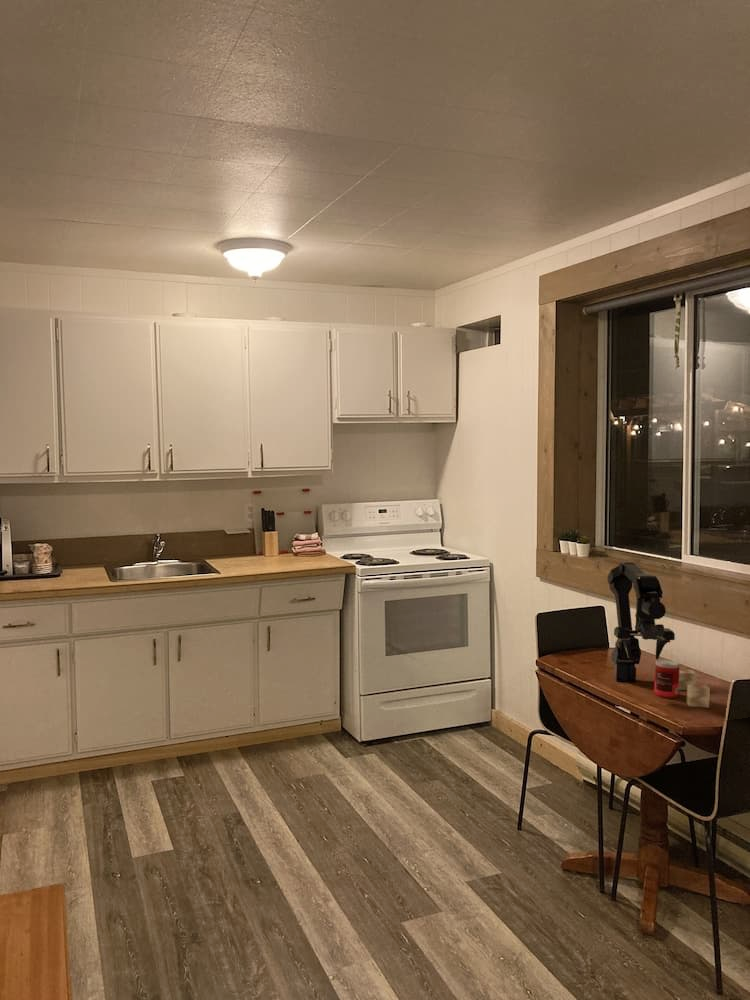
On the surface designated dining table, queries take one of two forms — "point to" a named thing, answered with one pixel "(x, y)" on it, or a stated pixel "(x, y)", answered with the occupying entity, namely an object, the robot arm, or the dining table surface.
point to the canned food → (666, 679)
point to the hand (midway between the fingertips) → (643, 658)
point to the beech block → (698, 695)
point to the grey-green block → (686, 678)
